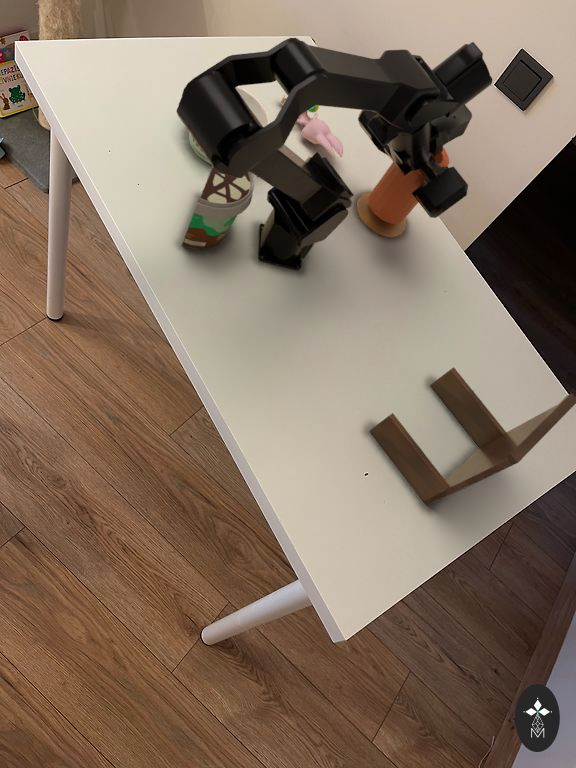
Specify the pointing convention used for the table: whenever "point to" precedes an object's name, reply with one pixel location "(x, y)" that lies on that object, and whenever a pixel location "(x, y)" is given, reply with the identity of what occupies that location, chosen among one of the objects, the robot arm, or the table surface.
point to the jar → (399, 191)
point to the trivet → (377, 219)
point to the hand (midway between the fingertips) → (414, 176)
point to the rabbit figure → (318, 131)
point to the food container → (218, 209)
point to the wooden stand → (481, 426)
